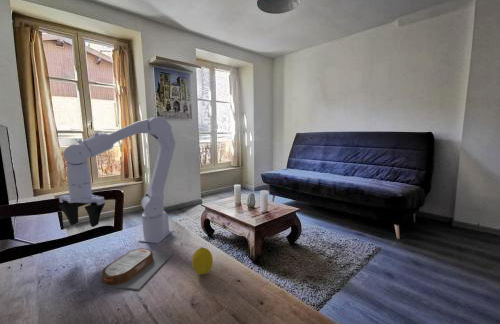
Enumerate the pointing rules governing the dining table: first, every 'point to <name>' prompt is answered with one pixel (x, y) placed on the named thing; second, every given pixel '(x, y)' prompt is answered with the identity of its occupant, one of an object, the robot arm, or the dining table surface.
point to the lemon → (202, 261)
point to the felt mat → (144, 272)
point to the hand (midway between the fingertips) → (84, 224)
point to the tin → (127, 266)
